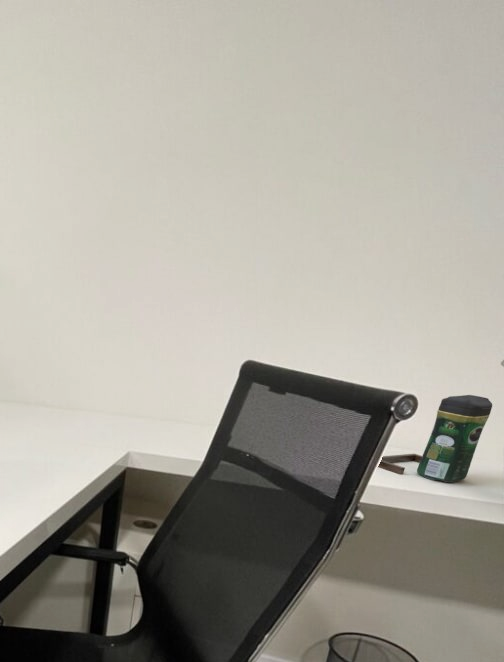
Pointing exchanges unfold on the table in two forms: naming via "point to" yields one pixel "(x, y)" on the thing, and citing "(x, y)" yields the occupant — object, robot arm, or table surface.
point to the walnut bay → (388, 460)
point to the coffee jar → (454, 437)
